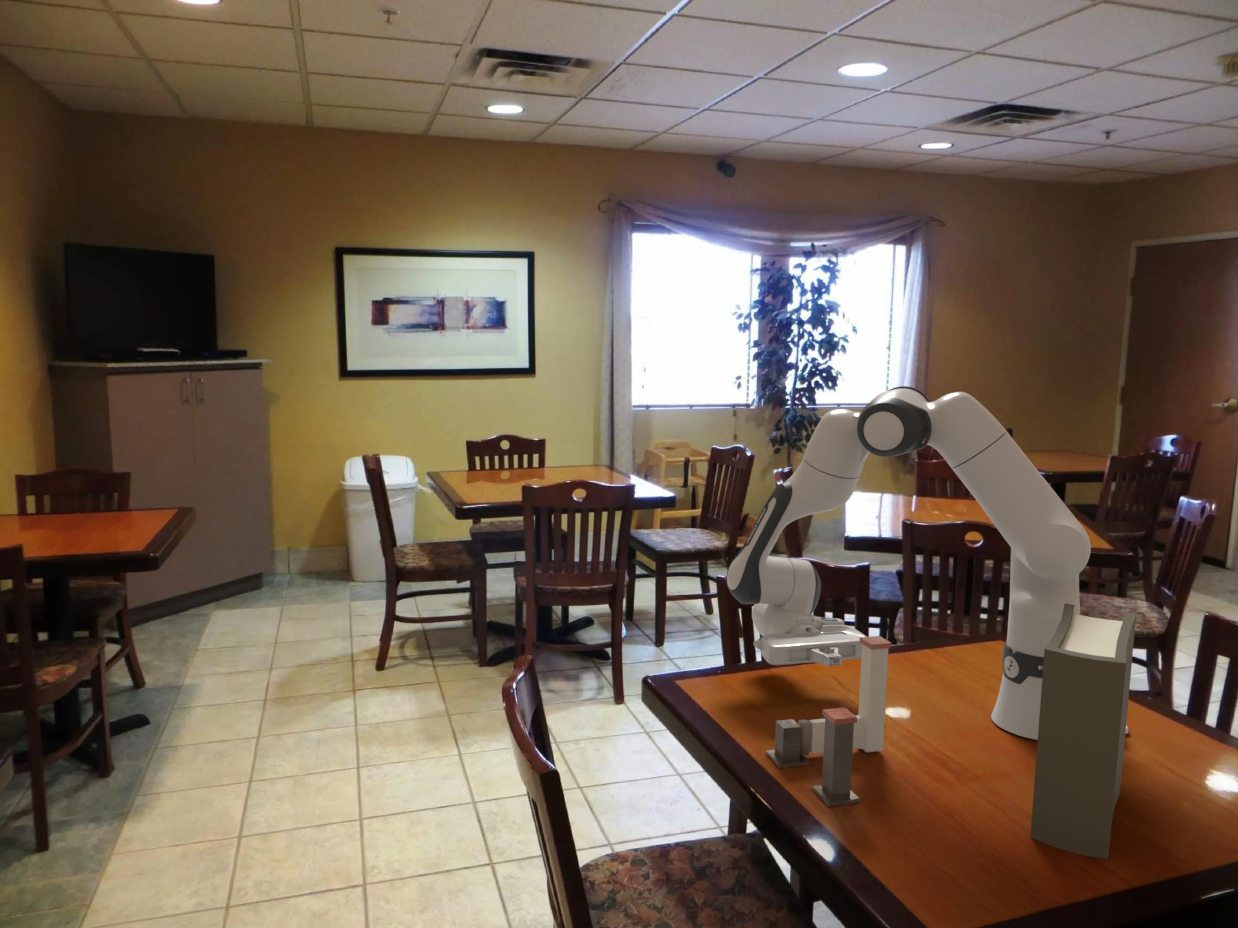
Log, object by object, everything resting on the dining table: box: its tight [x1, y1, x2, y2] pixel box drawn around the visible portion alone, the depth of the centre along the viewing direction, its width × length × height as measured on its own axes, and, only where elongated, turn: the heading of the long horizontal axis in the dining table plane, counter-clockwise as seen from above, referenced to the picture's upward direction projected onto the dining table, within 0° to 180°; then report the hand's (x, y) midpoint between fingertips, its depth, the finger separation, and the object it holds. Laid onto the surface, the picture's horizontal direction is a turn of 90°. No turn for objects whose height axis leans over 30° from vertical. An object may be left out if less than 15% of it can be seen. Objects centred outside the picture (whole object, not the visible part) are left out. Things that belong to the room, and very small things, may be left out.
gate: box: [797, 635, 892, 757], centre depth 143 cm, size 15×4×18 cm, turn 104°
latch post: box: [812, 707, 861, 807], centre depth 130 cm, size 5×5×13 cm
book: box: [1029, 604, 1137, 860], centre depth 124 cm, size 22×9×28 cm, turn 147°
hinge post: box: [765, 718, 809, 769], centre depth 142 cm, size 5×5×6 cm
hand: (834, 661), depth 157 cm, fingers closed
